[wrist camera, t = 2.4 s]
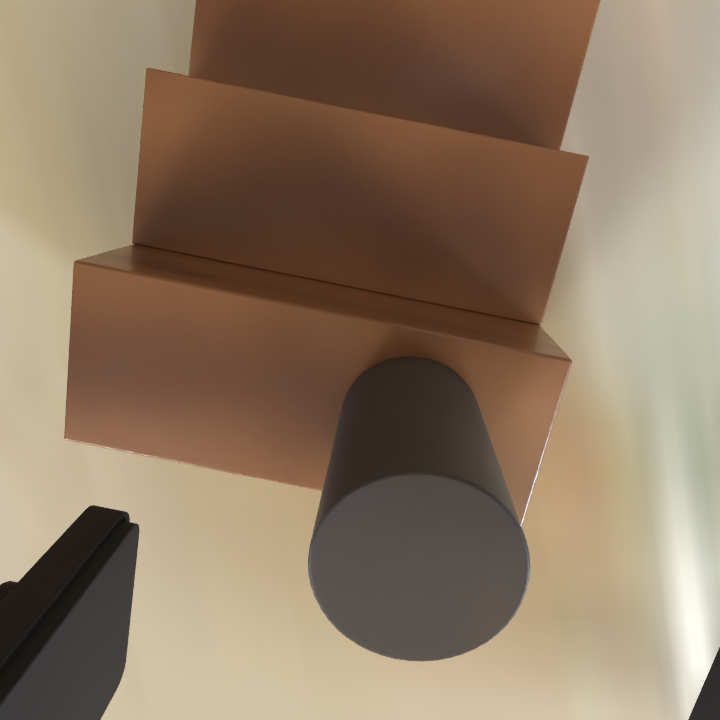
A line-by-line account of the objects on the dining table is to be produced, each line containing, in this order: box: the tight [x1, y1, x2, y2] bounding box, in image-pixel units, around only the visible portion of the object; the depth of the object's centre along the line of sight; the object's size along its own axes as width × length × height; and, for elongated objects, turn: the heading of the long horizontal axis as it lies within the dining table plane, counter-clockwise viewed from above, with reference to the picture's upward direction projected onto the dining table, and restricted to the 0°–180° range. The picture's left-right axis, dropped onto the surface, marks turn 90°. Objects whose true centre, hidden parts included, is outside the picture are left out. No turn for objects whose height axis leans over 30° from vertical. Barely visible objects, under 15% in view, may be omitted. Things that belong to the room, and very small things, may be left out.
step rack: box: [64, 0, 600, 527], centre depth 22 cm, size 16×14×11 cm
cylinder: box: [308, 357, 530, 661], centre depth 15 cm, size 4×4×7 cm
